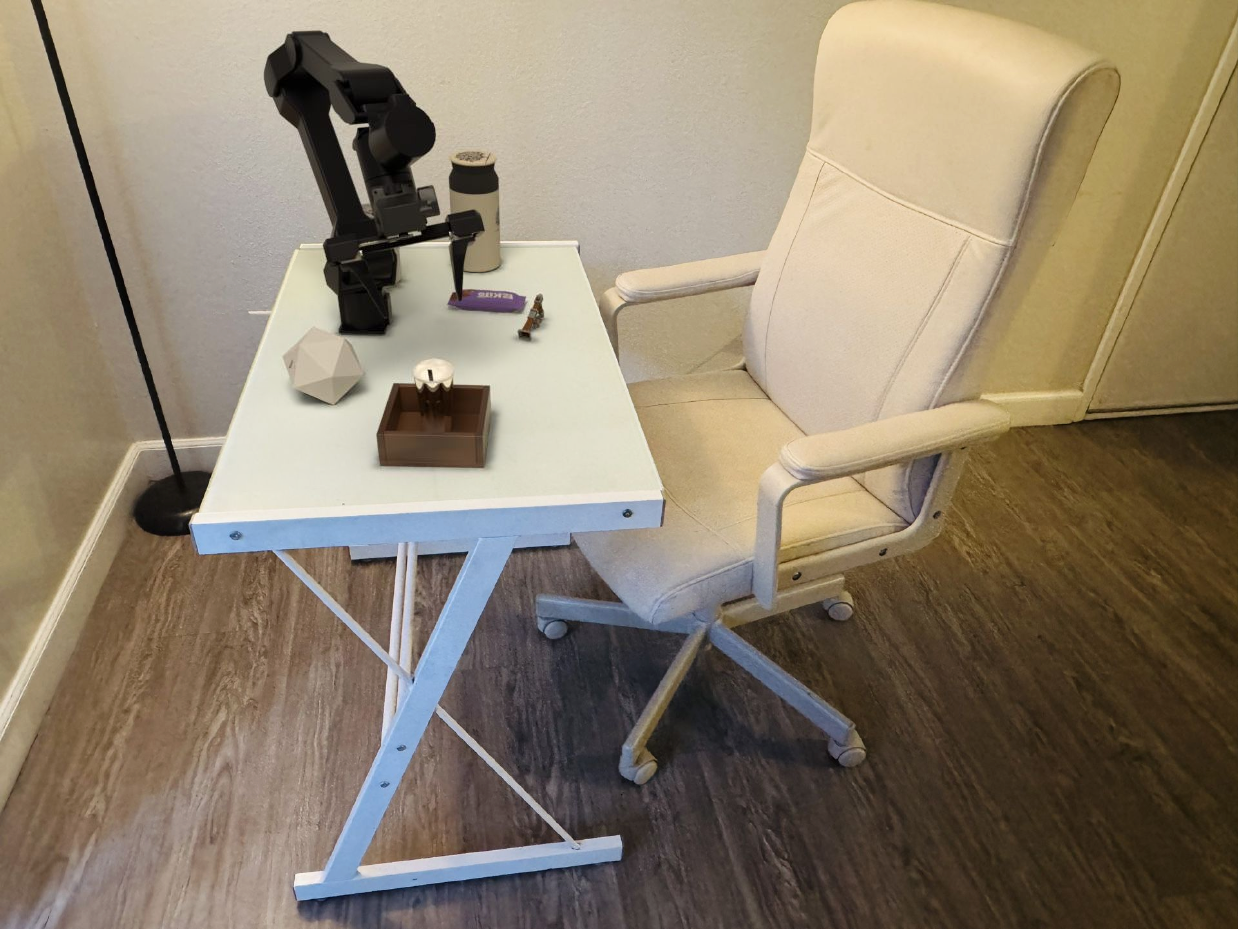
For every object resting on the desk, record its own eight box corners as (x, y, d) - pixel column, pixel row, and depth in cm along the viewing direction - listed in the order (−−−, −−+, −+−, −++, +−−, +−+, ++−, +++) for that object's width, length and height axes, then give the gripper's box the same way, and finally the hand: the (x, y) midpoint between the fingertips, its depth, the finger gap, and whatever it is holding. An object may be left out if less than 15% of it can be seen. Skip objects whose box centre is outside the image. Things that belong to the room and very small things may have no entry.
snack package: (526, 290, 135) (522, 303, 131) (526, 302, 136) (523, 315, 132) (452, 285, 135) (446, 299, 130) (452, 297, 136) (447, 311, 132)
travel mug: (447, 270, 145) (440, 160, 134) (461, 253, 151) (456, 147, 141) (493, 275, 144) (490, 165, 134) (505, 258, 150) (504, 152, 140)
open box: (379, 465, 97) (376, 434, 95) (396, 412, 107) (393, 382, 104) (483, 467, 98) (482, 436, 96) (491, 414, 107) (490, 385, 105)
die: (307, 377, 114) (259, 339, 105) (365, 343, 113) (321, 301, 104) (325, 426, 110) (276, 391, 101) (385, 391, 109) (341, 352, 100)
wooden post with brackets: (549, 312, 131) (546, 291, 127) (533, 352, 127) (529, 331, 123) (538, 310, 131) (534, 289, 128) (521, 350, 127) (517, 329, 123)
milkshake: (414, 445, 100) (408, 368, 94) (420, 421, 104) (414, 346, 98) (454, 446, 100) (450, 369, 94) (458, 421, 104) (454, 347, 99)
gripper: (302, 181, 93) (343, 324, 96) (472, 150, 97) (506, 288, 100) (311, 198, 104) (347, 327, 106) (463, 170, 108) (494, 294, 111)
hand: (423, 309), depth 106 cm, fingers open, 9 cm apart
